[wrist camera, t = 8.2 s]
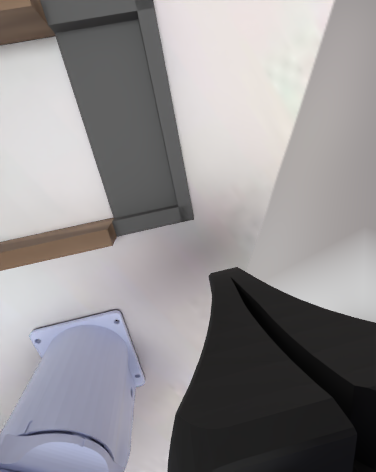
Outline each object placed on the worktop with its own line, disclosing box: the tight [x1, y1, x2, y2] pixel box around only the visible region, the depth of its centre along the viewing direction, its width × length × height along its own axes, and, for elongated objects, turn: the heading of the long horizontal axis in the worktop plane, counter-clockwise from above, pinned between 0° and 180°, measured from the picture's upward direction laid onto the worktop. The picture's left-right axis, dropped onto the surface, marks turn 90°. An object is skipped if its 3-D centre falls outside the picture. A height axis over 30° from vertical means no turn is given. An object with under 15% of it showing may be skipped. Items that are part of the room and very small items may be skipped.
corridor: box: [0, 0, 117, 271], centre depth 14 cm, size 14×9×3 cm, turn 11°
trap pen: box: [40, 0, 194, 236], centre depth 15 cm, size 14×6×1 cm, turn 11°
